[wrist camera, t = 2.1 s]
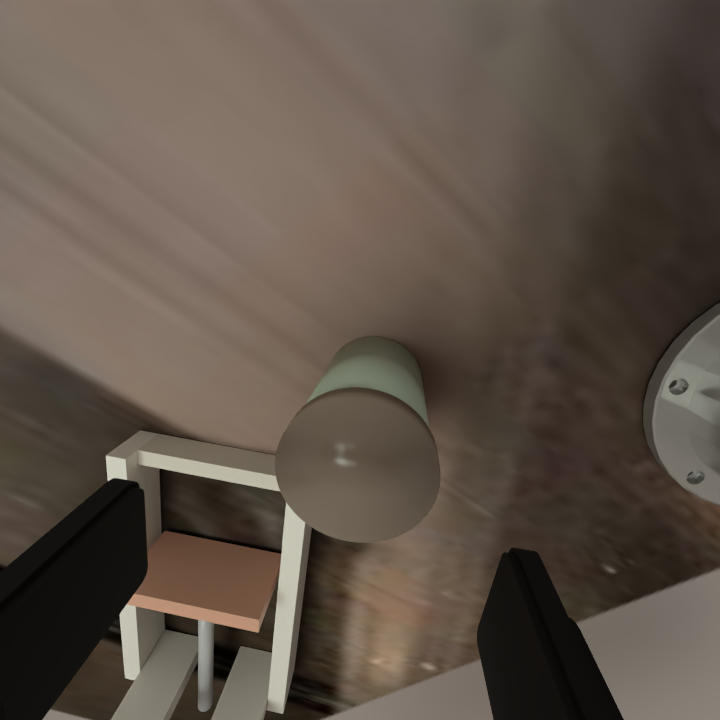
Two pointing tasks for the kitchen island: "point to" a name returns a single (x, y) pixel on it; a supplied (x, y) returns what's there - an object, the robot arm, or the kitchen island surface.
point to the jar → (362, 447)
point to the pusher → (208, 590)
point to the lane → (180, 651)
